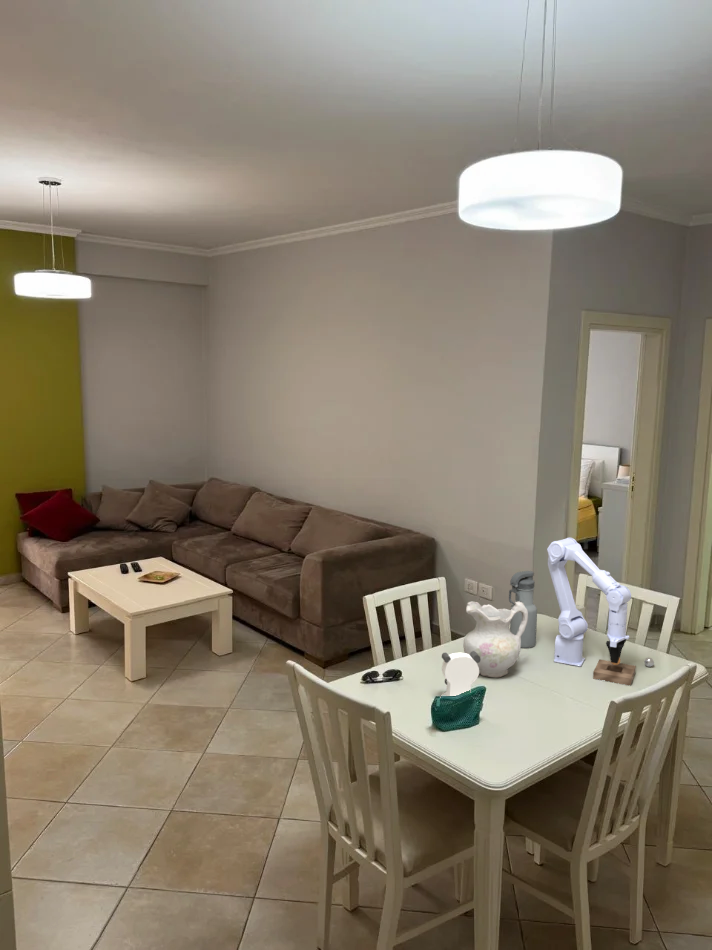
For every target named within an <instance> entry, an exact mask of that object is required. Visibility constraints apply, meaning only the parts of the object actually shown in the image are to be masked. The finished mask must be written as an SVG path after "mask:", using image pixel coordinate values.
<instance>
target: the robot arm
mask: <svg viewBox="0 0 712 950" xmlns="http://www.w3.org/2000/svg"><path fill="white" fill-rule="evenodd" d="M546 551H547V554H548V558H547V567H548V570H549V574H550V577H551V581H552V586H553V588H554V592H555V596H556V600H557V603H558V606H559V610H560V614H559V616H558V618H557V621H558V632H559V634H556V637H555V640H554V641H555V642H554V656H553V657H554V659H553V662H554V663H559V664H560V663H561V664H565V665H571V666H576V667H582V665H583V663H584V662H585V660H586V658H585V657H583V653H584V652H583V650H584V648H583V647H584V637H583V636H584V633H586V632H587V631H588V627H589V626H588V622H587V621H586V618H585V619H584V618H583V615H582V613H581V612H580V611H579V610H577V609H576V605H577V604H576V602H575V599H574V595H573V592H572V588H571V585H570V582H569V578H568V575H567V570H566V567H565V565H566V564H567V562H568V561H573V562H576V563H577V564H578V565H579V566H580V567H581V568H582V569H583V570H584V571H585V572H587V573H588V574H589V575H590V576H591V578H592V579H591V580H592V581H591V582H592V583H594V584H595V586H596V587H598V589H600V591H602V593H603V594H604V595H605V598H606V601H607V603H608V622H607V623H608V624H607V632H606V637H607V639H608V640H607V641H606V642H605V644H606V645H605V646H606V648H607V649H608V652H609V659H610V660H609V661H611V662H612V663H618V660H619V658H620V659H621V654H622V650H623V648H624V647H625V643H626V641H627V640H629V639H630V635H627V633H626V632H627V617H628V602H629V601H630V600H631V598H632V592H631V590H630V589H629V587H627V586H626V585H622V584H621V583H620V582H617V580H615V578H613V576H611V572H609V571H607V570H604V569H599V567H598V566H597V565H596V564H595V562H594V561H593V560H592V559H591V558H590V557H589V556H588V555H587V553H586V552H585V551H584V550H583V548H582V546H581V544H580V543H578V542H577V540H576V539H574V538H573V537H566V538H564V539H559V540H553V541H552V542H551V543H550V544H549V545H548V547H547V549H546ZM575 604H576V605H575Z"/></svg>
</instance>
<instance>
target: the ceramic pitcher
mask: <svg viewBox="0 0 712 950" xmlns="http://www.w3.org/2000/svg"><path fill="white" fill-rule="evenodd" d="M465 612H466V614H468V615H470V616H472V618H473V619H474V621H475V628H474V629H472V630H471V631H469V632H467V633H466V635H465V637H464V638H463V647H462V648H463V651H464V652H463V653H467V654H469V655H470V653H471V652H472V651H475V652H476V653H477V654H478V655H479V656H480V659H481V660H480V662H479V663H477V665H478V667H479V675H481V676H483V677H489V678H496V679H499V678H501V677H503V676H506V675H508V674H509V673H510V671H509V670H508V669H509V668H511V667H513V666H514V664H515V663H516V662H517V660H518V659H519V656H520V653H521V648H520V647H521V635H522V634H523V632H524V631H525V627H526V625H527V621H528V611H527V609H526V608H525V606H524V603H522V601H521V602H520V601H517V602H514V607H513V608H512V609H511V608H510V609H507V608H498V609H497V608H496V607H495V606H493V605H492V604H483V605H481V604H480V603H479V602H477V601H468V602H467V603H466V609H465ZM519 612H521V614H522V622H521V624H520V626H519V629H518V632H517V634H516V635H514V634H512V633H511V632H510V622H511V620H512V617H513V616H514V615H515V614H517V613H519Z"/></svg>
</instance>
